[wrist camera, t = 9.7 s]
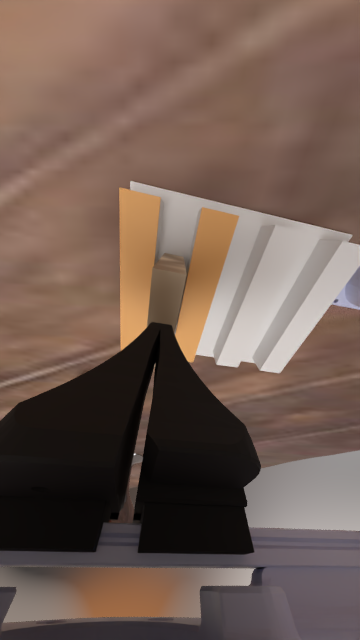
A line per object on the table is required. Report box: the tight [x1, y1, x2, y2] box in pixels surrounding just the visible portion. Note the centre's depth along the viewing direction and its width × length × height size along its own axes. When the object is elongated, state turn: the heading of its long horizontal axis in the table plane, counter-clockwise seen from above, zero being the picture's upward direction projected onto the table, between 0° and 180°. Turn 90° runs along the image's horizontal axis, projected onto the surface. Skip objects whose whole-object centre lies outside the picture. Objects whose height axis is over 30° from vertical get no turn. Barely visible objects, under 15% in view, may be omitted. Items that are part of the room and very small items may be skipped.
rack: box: [119, 181, 360, 373], centre depth 17 cm, size 22×18×3 cm
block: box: [147, 253, 187, 368], centre depth 14 cm, size 2×8×8 cm, turn 170°
